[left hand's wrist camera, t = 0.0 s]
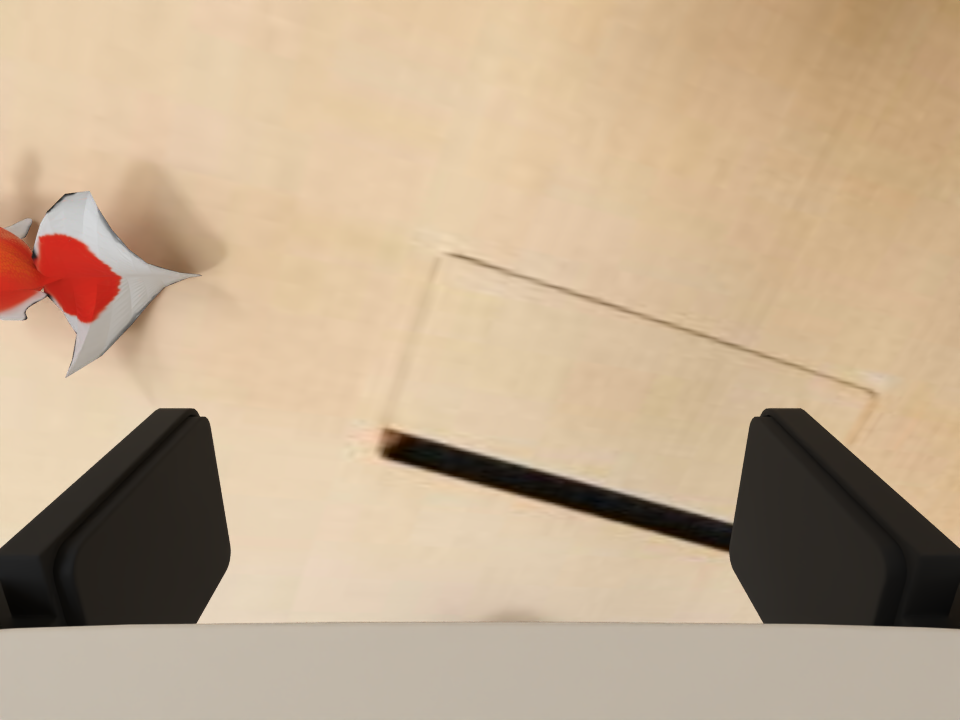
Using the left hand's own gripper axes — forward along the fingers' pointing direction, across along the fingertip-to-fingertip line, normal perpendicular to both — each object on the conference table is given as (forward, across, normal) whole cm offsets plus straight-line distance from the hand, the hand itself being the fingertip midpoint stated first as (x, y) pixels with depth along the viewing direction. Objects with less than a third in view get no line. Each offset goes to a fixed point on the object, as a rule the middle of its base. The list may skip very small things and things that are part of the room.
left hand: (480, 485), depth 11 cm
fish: (+31, +25, +2) cm, 40 cm away
